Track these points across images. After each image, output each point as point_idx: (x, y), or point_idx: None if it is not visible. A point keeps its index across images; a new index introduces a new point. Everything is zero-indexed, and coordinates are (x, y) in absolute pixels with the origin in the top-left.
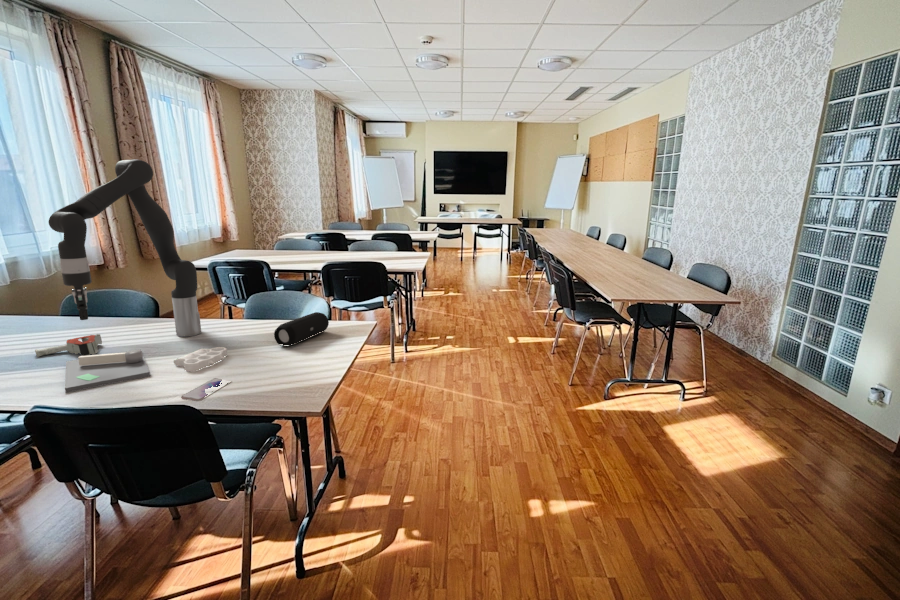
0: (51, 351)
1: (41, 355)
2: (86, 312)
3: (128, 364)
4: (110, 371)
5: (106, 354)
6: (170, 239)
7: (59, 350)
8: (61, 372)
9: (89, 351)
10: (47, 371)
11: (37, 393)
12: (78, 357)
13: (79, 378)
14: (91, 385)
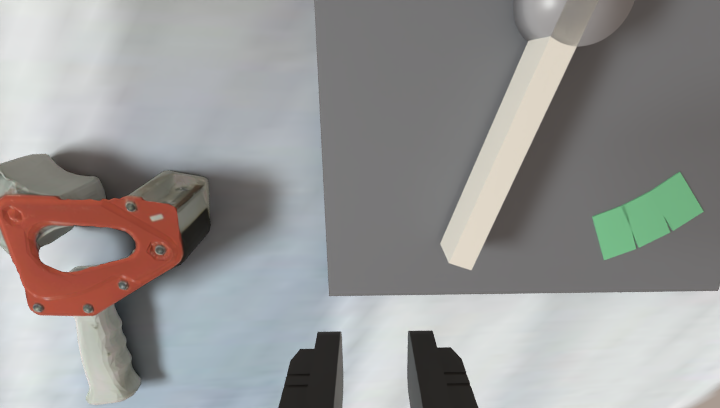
0: (123, 348)
1: (134, 371)
2: (449, 392)
3: None
4: (634, 128)
5: (513, 144)
6: None
7: (120, 323)
8: (421, 299)
9: (200, 210)
10: (372, 341)
11: (625, 355)
12: (471, 268)
13: (634, 246)
14: None
